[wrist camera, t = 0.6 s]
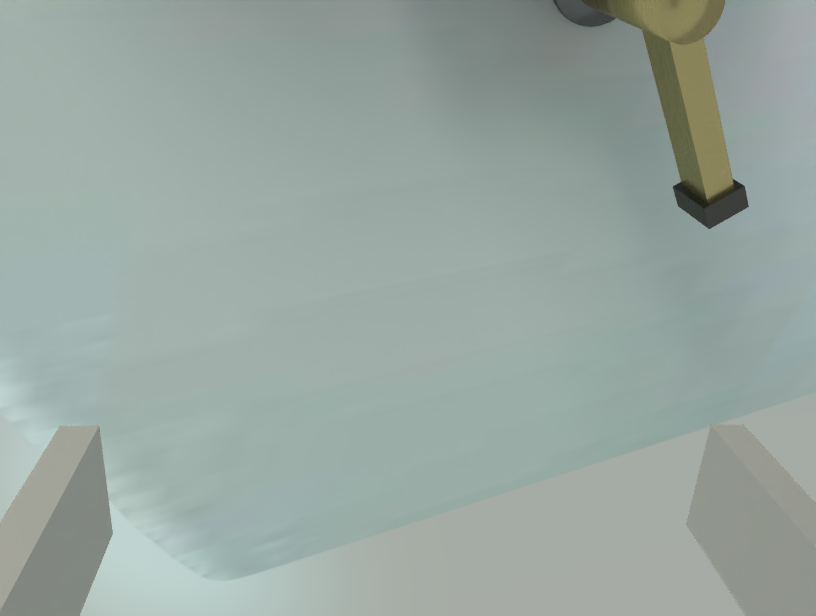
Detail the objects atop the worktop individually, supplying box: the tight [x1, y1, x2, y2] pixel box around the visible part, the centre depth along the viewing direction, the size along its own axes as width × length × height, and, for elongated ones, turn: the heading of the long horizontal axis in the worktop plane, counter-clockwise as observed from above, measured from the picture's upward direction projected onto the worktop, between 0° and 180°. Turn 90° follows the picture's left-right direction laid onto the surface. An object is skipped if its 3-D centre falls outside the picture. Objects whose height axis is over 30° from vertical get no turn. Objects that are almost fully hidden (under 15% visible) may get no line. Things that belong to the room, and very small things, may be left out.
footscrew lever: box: [581, 0, 749, 229], centre depth 39 cm, size 14×3×8 cm, turn 26°
